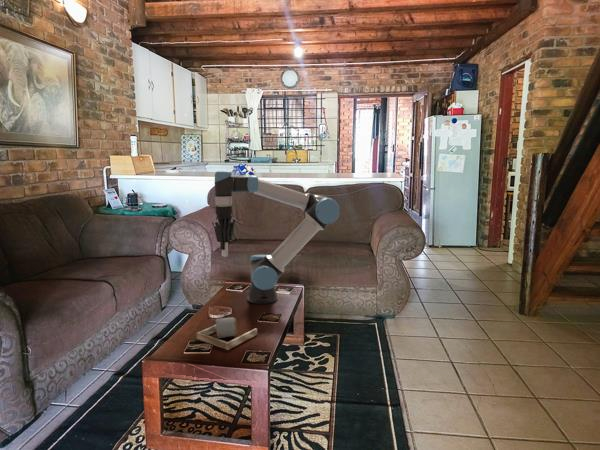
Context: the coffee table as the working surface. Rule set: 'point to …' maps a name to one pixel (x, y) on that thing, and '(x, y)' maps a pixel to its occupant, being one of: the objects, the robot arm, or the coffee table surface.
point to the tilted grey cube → (226, 327)
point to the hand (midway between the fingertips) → (225, 256)
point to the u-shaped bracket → (220, 343)
